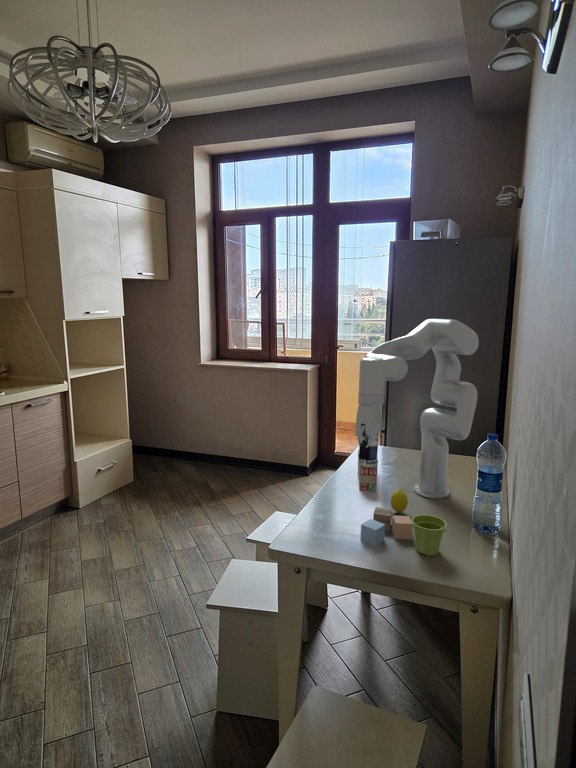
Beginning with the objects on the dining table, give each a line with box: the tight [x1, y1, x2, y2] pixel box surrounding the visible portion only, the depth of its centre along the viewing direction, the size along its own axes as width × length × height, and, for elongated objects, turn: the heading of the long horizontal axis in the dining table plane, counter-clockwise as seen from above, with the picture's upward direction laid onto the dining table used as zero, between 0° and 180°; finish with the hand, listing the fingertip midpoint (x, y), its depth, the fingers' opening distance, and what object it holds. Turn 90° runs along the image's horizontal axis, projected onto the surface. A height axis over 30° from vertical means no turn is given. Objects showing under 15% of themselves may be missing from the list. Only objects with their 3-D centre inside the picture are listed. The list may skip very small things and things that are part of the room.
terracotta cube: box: [391, 515, 414, 540], centre depth 141 cm, size 5×5×5 cm
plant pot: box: [411, 514, 448, 557], centre depth 132 cm, size 9×9×9 cm
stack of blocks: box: [357, 448, 379, 492], centre depth 184 cm, size 21×6×12 cm, turn 174°
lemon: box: [390, 489, 409, 514], centre depth 156 cm, size 6×6×8 cm
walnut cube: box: [372, 506, 393, 532], centre depth 147 cm, size 5×5×5 cm
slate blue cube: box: [360, 518, 386, 547], centre depth 138 cm, size 5×5×5 cm
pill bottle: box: [359, 435, 379, 467], centre depth 144 cm, size 5×5×10 cm
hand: (368, 456), depth 144 cm, fingers closed on pill bottle, 5 cm apart
